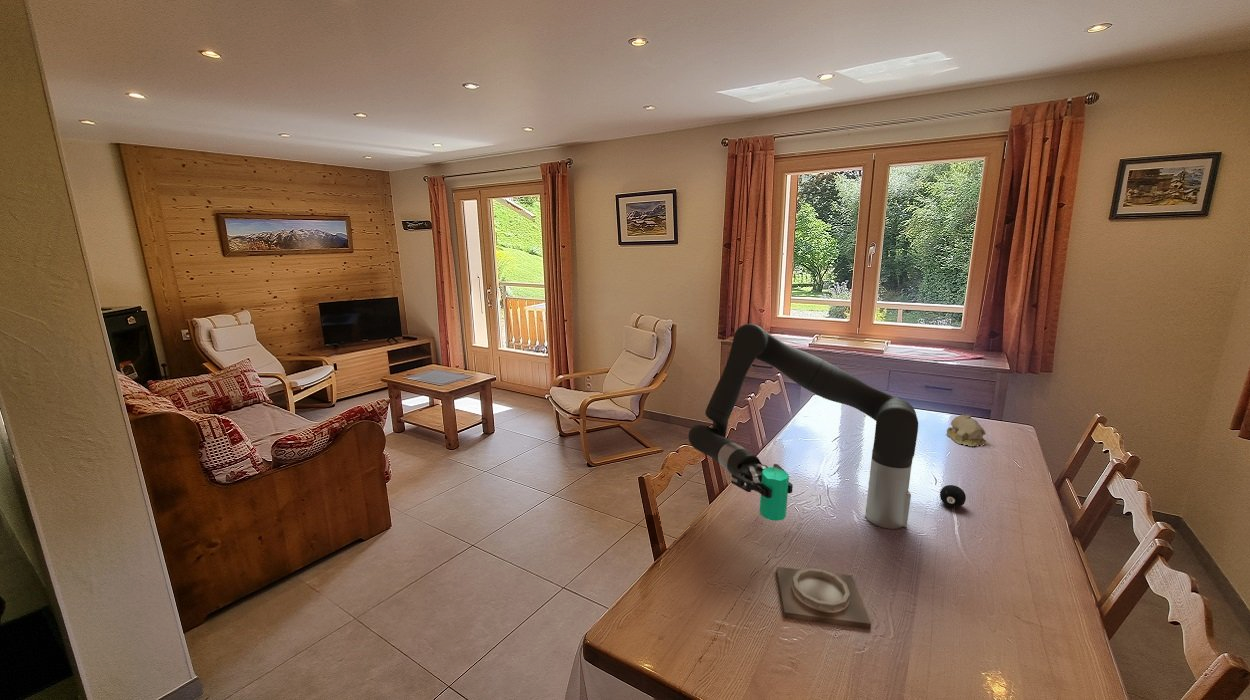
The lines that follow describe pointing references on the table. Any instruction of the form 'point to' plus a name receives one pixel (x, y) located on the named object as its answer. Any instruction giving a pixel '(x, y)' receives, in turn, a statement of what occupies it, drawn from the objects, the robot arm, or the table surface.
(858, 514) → the table surface
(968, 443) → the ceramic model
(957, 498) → the billiard ball
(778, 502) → the candle
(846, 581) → the holder
